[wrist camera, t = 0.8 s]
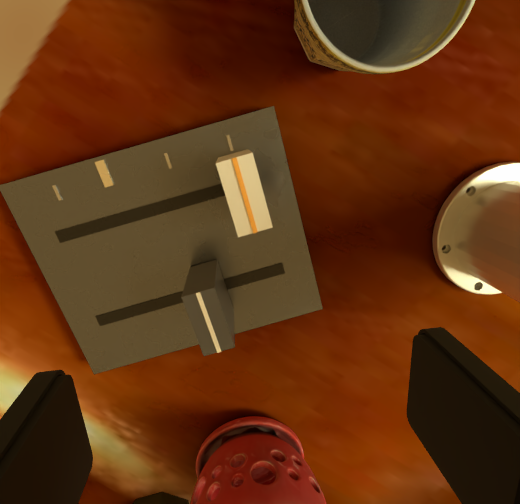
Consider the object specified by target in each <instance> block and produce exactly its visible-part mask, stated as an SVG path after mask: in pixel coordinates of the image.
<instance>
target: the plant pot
mask: <svg viewBox="0 0 520 504" xmlns="http://www.w3.org/2000/svg"><path fill="white" fill-rule="evenodd" d="M196 474H197V478H198V480H197V483H196V485H195V488H194V492H193V495H192V499H191V503H190V504H327V503H326V500H325V498H324V495H323V493H322V491H321V489H320V487H319V485H318V482H317V480H316V478H315V476H314V474H313V472H312V471H311V469H310V467H309V466H308V464H307V463H306V461H305V460H304V452H303V448H302V445H301V442H300V440H299V439H298V437H297V436H296V434H295V433H294V432H293V431H292V430H291V429H290V428H289V427H287V426H286V425H284V424H283V423H281V422H279V421H276V420H274V419H271V418H266V417H259V416H251V417H243V418H238V419H235V420H232V421H230V422H227V423H225V424H224V425H222V426H220V427H219V428H217V429H216V430H215V431H213V432H212V433H211V434H210V435H209V436H208V437H207V438H206V440H205V441H204V442H203V444H202V445H201V447H200V449H199V452H198V455H197V459H196Z"/></svg>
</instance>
